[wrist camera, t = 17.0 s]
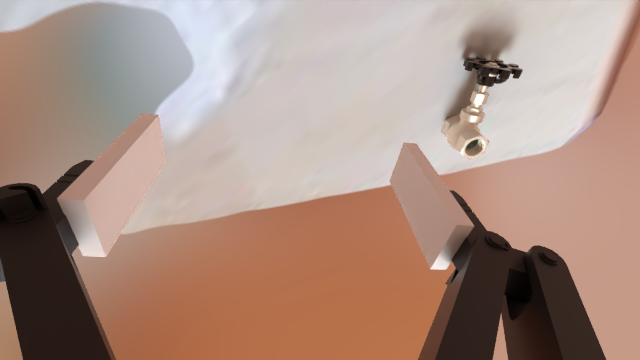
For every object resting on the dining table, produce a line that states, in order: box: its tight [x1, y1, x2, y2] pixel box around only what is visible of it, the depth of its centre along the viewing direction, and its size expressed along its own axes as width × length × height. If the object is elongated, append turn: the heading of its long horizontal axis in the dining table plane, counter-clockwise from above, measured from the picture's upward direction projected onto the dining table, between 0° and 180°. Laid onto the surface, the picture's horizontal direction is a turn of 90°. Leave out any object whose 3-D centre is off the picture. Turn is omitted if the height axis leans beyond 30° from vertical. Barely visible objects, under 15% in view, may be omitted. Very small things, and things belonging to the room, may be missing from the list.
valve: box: [441, 57, 523, 159], centre depth 39 cm, size 7×7×12 cm
